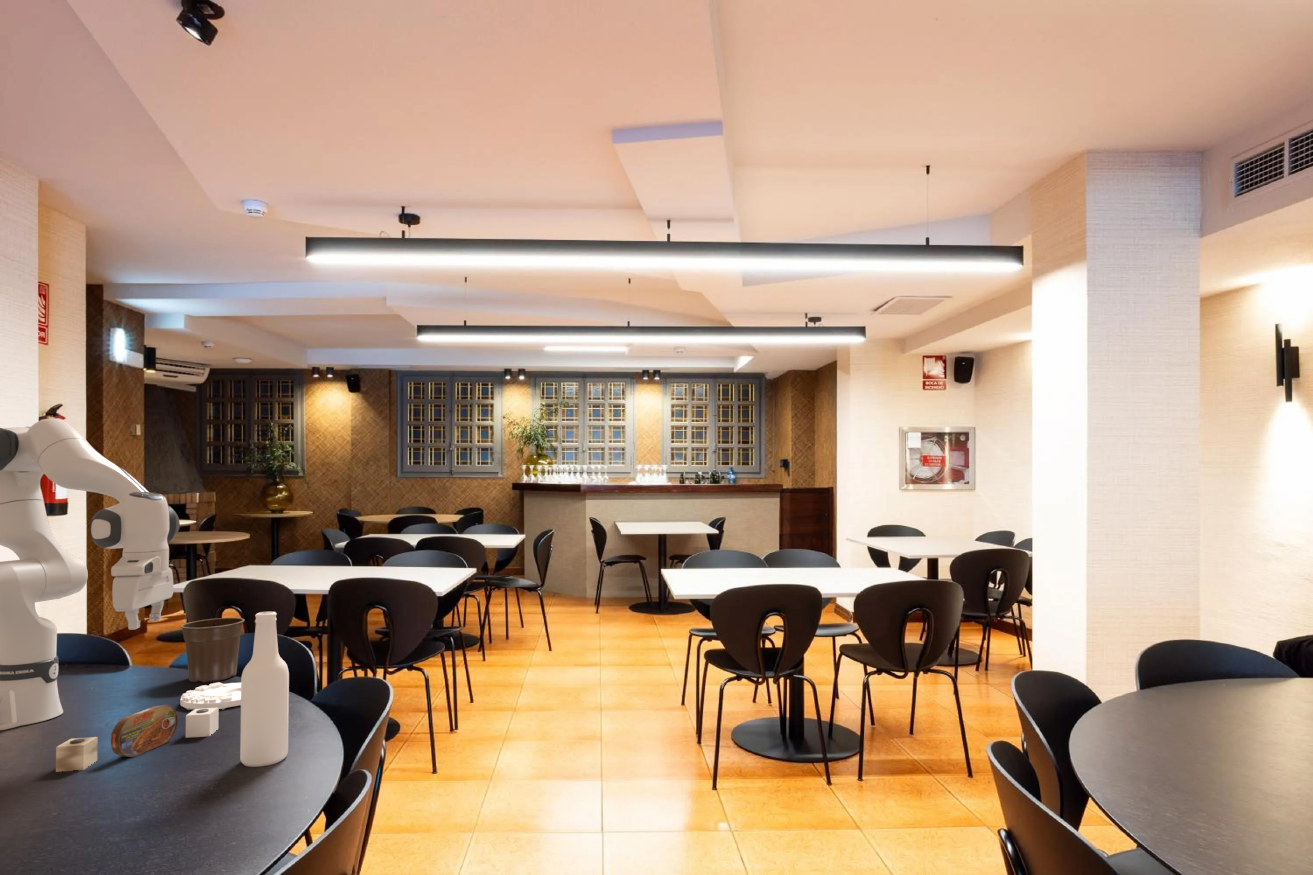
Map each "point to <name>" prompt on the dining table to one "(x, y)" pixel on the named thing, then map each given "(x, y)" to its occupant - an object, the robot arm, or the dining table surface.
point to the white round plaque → (212, 696)
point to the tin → (144, 731)
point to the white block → (202, 722)
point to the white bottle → (264, 699)
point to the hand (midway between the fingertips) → (144, 624)
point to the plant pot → (212, 648)
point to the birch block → (76, 754)
